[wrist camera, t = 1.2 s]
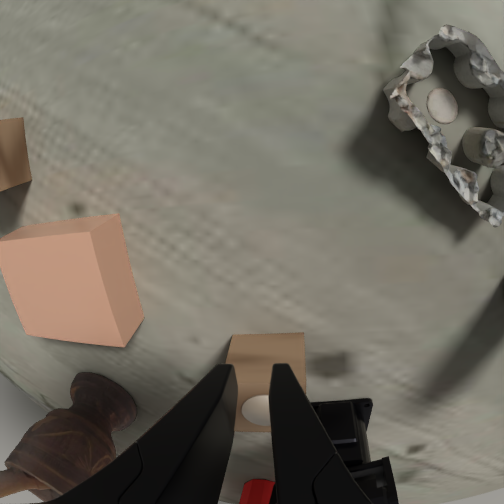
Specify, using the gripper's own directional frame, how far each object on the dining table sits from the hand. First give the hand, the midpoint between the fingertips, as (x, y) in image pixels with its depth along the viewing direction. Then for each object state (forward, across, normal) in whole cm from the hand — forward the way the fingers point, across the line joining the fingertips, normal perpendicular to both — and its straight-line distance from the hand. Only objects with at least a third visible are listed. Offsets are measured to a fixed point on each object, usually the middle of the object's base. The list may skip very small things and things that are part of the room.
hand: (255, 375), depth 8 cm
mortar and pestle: (+12, +19, +15) cm, 27 cm away
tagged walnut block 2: (+12, +1, +10) cm, 16 cm away
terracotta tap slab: (+12, +15, +2) cm, 20 cm away
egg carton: (+12, -12, -6) cm, 19 cm away
